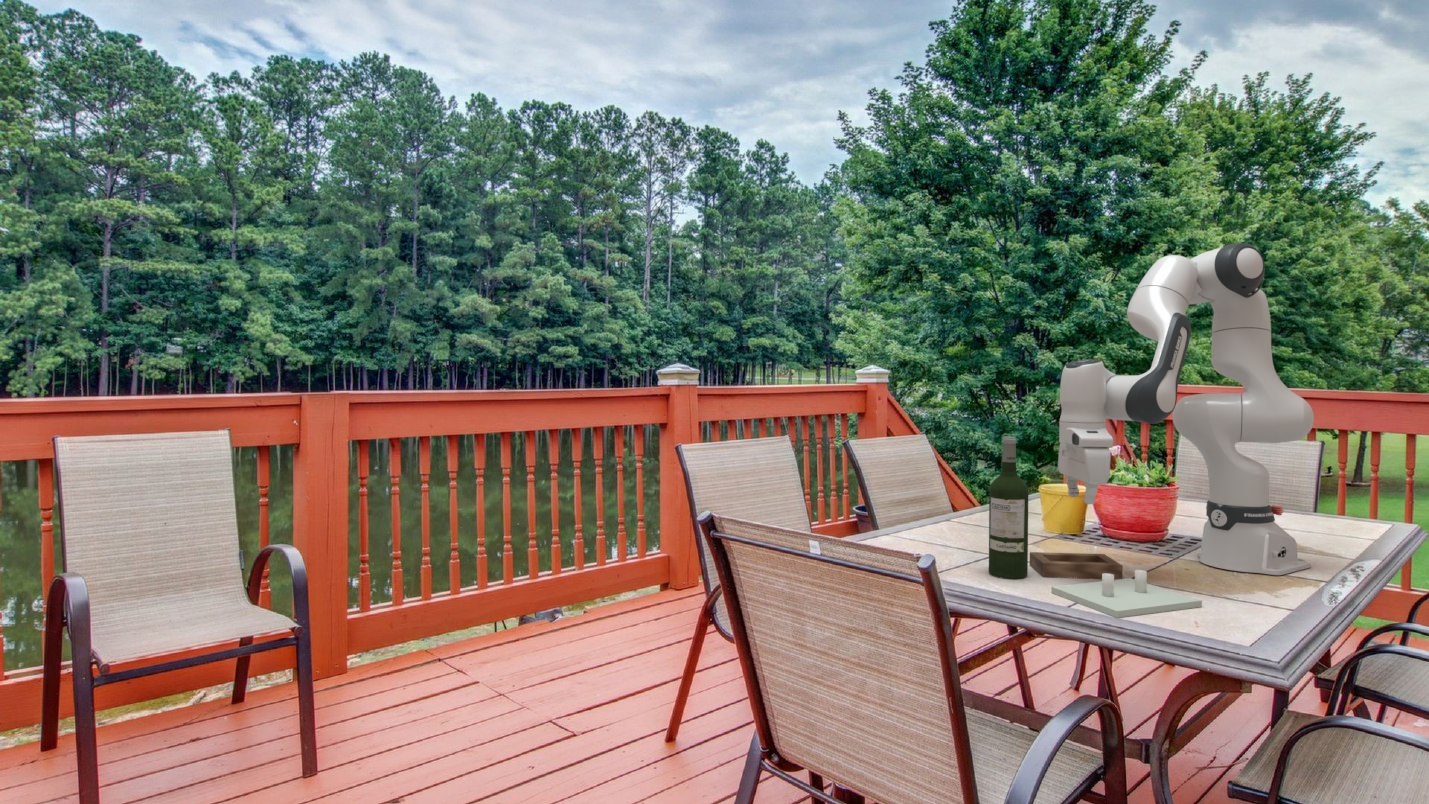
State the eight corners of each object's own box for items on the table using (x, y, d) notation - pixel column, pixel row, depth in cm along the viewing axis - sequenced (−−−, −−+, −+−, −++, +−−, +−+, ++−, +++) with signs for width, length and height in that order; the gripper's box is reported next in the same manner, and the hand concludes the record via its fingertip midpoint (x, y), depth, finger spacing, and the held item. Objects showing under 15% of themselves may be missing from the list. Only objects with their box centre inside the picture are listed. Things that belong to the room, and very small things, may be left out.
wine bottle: (990, 578, 158) (991, 438, 157) (987, 568, 166) (988, 435, 165) (1030, 580, 156) (1031, 438, 155) (1025, 570, 164) (1026, 435, 163)
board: (1130, 583, 153) (1130, 558, 153) (1201, 606, 138) (1202, 579, 138) (1051, 592, 147) (1051, 566, 147) (1117, 617, 132) (1117, 589, 132)
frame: (1103, 567, 166) (1104, 554, 166) (1122, 579, 157) (1122, 565, 156) (1029, 565, 169) (1029, 552, 168) (1043, 577, 159) (1043, 563, 159)
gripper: (1051, 431, 168) (1050, 492, 169) (1083, 439, 148) (1082, 507, 148) (1080, 432, 167) (1079, 493, 168) (1116, 439, 147) (1115, 508, 148)
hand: (1081, 500), depth 158 cm, fingers open, 8 cm apart
